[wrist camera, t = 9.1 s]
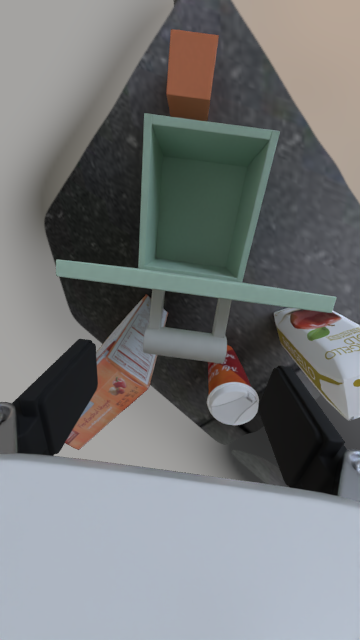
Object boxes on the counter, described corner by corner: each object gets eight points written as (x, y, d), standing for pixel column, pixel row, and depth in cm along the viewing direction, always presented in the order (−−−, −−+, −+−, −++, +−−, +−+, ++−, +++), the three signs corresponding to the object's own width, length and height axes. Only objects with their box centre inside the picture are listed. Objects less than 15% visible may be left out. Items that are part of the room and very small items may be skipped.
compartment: (159, 150, 29) (144, 112, 20) (252, 162, 29) (280, 130, 20) (152, 261, 35) (138, 271, 26) (228, 271, 35) (241, 285, 26)
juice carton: (321, 329, 38) (429, 409, 21) (276, 343, 40) (340, 427, 23) (315, 293, 36) (433, 351, 18) (267, 310, 37) (332, 377, 20)
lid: (55, 259, 10) (56, 357, 11) (337, 296, 10) (307, 391, 11) (137, 268, 26) (134, 307, 27) (242, 282, 26) (235, 321, 27)
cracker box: (128, 356, 43) (77, 454, 24) (105, 339, 42) (32, 428, 23) (171, 313, 39) (150, 392, 20) (147, 292, 37) (99, 355, 18)
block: (174, 65, 25) (170, 28, 21) (213, 71, 25) (218, 35, 21) (170, 117, 27) (166, 94, 23) (207, 122, 27) (210, 100, 23)
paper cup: (223, 332, 40) (238, 379, 27) (247, 356, 42) (272, 410, 29) (195, 354, 42) (196, 408, 29) (219, 376, 44) (229, 435, 31)
